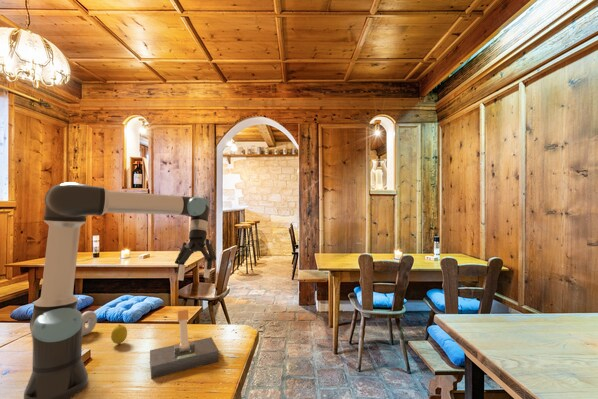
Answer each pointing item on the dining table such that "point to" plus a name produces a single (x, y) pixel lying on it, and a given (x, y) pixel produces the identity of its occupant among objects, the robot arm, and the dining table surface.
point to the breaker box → (182, 357)
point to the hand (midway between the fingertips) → (193, 279)
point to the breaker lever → (183, 329)
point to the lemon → (119, 334)
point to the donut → (91, 322)
